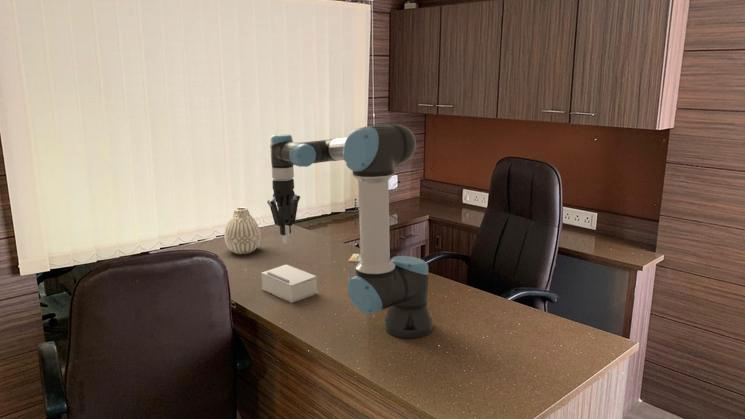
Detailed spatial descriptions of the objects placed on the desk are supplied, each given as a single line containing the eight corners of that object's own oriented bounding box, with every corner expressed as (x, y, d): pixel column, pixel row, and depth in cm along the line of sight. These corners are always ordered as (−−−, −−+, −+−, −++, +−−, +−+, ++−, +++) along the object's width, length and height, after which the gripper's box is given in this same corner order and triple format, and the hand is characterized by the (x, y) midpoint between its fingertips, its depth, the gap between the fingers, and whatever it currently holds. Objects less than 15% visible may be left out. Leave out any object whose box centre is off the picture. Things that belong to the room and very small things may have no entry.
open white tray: (318, 293, 206) (317, 278, 204) (292, 303, 197) (291, 287, 196) (288, 280, 218) (287, 266, 216) (262, 289, 210) (261, 274, 208)
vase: (245, 243, 263) (242, 202, 258) (269, 250, 254) (266, 207, 249) (217, 252, 251) (214, 209, 246) (242, 259, 242) (239, 215, 237)
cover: (316, 277, 204) (316, 274, 204) (291, 287, 196) (291, 283, 196) (286, 265, 216) (286, 262, 216) (261, 274, 208) (261, 270, 208)
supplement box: (360, 295, 204) (360, 261, 201) (347, 294, 205) (347, 260, 202) (365, 286, 212) (365, 253, 209) (353, 285, 213) (352, 253, 210)
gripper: (291, 174, 204) (294, 237, 209) (261, 179, 194) (265, 244, 200) (304, 177, 198) (306, 241, 204) (274, 182, 189) (277, 249, 195)
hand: (286, 242), depth 202 cm, fingers closed
